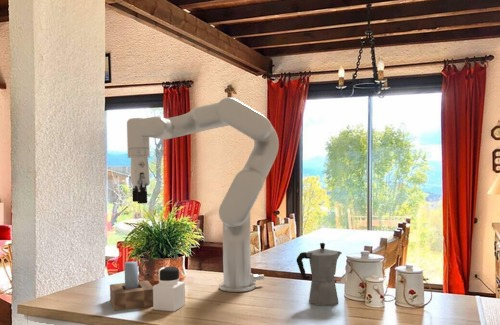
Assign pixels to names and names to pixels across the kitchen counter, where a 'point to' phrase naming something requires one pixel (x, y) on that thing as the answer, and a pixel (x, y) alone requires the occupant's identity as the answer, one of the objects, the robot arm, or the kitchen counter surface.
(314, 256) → the coffeepot
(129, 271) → the peg
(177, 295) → the medicine bottle
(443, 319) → the kitchen counter surface
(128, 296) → the socket
